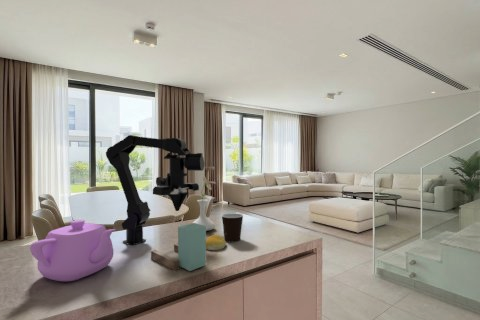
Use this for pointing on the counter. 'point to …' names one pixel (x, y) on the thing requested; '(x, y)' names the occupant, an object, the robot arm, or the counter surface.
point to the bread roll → (215, 242)
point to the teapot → (73, 251)
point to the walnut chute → (167, 258)
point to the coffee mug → (232, 226)
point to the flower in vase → (202, 218)
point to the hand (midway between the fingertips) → (177, 210)
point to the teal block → (192, 246)
